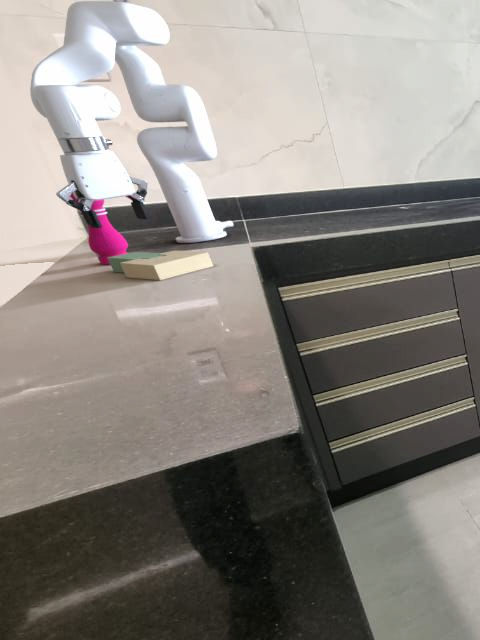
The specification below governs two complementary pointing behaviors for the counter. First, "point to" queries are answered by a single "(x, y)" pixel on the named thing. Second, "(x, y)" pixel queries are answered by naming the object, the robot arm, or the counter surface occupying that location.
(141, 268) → the sand pad
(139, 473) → the counter surface
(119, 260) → the sage pad
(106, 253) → the pepper mill
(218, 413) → the counter surface
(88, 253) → the counter surface
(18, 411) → the counter surface
